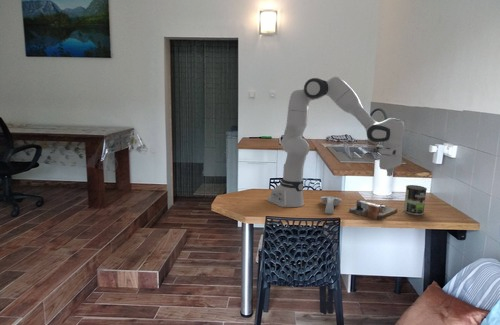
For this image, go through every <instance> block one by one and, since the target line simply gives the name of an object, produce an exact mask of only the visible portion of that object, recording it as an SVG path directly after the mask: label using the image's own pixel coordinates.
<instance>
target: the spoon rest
mask: <svg viewBox="0 0 500 325" xmlns="http://www.w3.org/2000/svg"><path fill="white" fill-rule="evenodd" d="M320 200H321V202H322V204H324V205H325V209H324V214H329V215H334V214H335V211H334V210H335V209H334V207H336V206H338V205H340V203H341V202H342V198H340V197H336V196H321V197H320Z"/></svg>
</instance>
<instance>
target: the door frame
mask: <svg viewBox="0 0 500 325" xmlns="http://www.w3.org/2000/svg"><path fill="white" fill-rule="evenodd" d="M368 202H369V203H372V204H376V205H380V206H381V205H384V204H383V203H379V204H378V203H374V202H372V201H371V202H370V201H368ZM372 204H370V205H369V206H368V210H367V209H364V208H359V207H356V206H354V207H351V208H349V209H348V212H349V213H353V214H355V215H360V216H363V217H366V218H370V219H373V220H378V221H379V220H381V219H382V220H383V219H384V218H386V217H389V216H391V215H393V214H395V213H397V212H398V208H394V207H391V206H387V205H385V206H386V213H384V214H382V213H379V210H380V206H376V205H372ZM392 213H393V214H392ZM390 214H391V215H390ZM388 215H389V216H388Z"/></svg>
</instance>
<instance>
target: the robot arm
mask: <svg viewBox="0 0 500 325" xmlns="http://www.w3.org/2000/svg"><path fill="white" fill-rule="evenodd" d="M324 96H327V97H329V98H330V100H332V102H334V103H335V105H337V107H338V108H340V109H341V110H342V111H343V112H345V113H348V114H350V115H351V116H352V117H355V118H356V120H357V121H358V122H359V123H360V124H361V125H362V126H363V127H364V130H365V132H366V137H367V139H368V140H369V141H370V142H372V143H380V142H381V143H383V146H382V148H381V149H380V150H379V154H380V155H379V162H378V163H379V164H378V165H379V169H380V170H386V176H387V177H392V176H393V174H394V170H395V168H396V167H400V166H401V165H402V163H403V153H402V150H403V139H404V134H405V125H404V124H405V123H404V121H403V120H401V119H399V118H394V117H389V118H387V119H385V120H383V121H380V122H379V121H377V120H375V119H374V118H373V117H372V115H371V114H369V113H368V111H367V110H366V109H365V108H364V107H363V105H362V103H361V100H360V99H359V96H358V95H357V93H356V92H355V91H354V89H353V88H352V87H351V85H349V84H348V83H347V82H346V81H344V80H343V79H342V78H340V77H339V76H334V77H333V76H332V77H331V78H330V79H328V80H323V79H321V78H319V77H313V78H310V79H308V80H307V81H306V82H305V83H304V86H303V89H296V90H293V91H292V93H291V94H290V97H289V100H288V107H287V114H286V115H287V117H286V118H287V119H286V126H285V129H284V133H283V137H282V138H281V142H280V145H281V147H282V149H283V151H284V152H286V159H285V162H284V164H283V174H282V176H283V177H282V178H281V179H279V182H280V184H279V185H277V186H276V187H274V188H273V189H272V190H271V193H270V196H268V197H266V201H267V202H270V203H272V204H274V205H276V206H279V207H283V208H285V207H287V208H288V207H289V208H299V207H302V206H303V207H304V205H305V201H304V195H303V188H304V179H303V178H304V167H305V161H306V159H307V155H308V154H309V152H310V145H309V143H308V142H307V140H306V139H305V138H303V135H304V132H305V129H306V128H307V126H308V119H309V118H308V116H309V106H310V103H311V101H314V100H320V99H321V98H323V97H324Z"/></svg>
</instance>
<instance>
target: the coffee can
mask: <svg viewBox="0 0 500 325" xmlns="http://www.w3.org/2000/svg"><path fill="white" fill-rule="evenodd" d="M405 188H406V189H405V198H404V206H403V212H404V213H405V214H409V215H413V216H421V215H424V212H425V211H424V210H425V202H426V195H427V187H424V186H421V185H416V184H408V185H406V186H405Z"/></svg>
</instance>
